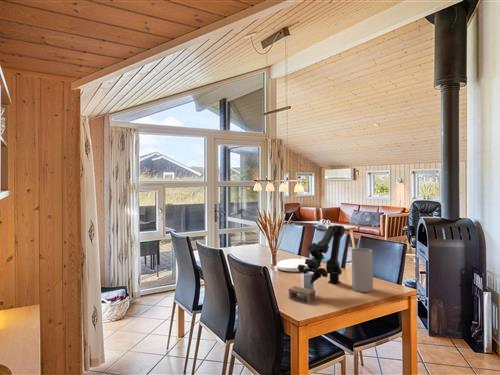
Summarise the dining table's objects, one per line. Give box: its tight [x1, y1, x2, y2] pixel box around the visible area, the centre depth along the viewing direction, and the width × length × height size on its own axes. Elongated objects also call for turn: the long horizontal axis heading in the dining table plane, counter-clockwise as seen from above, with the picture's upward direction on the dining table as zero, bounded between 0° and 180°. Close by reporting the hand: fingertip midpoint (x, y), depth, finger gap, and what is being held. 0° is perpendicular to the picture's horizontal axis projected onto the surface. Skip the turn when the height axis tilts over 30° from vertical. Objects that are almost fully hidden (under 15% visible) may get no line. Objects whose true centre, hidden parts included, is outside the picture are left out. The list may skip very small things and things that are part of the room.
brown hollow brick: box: [288, 285, 317, 304], centre depth 198 cm, size 7×14×6 cm, turn 49°
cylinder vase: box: [350, 247, 374, 293], centre depth 213 cm, size 12×12×25 cm
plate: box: [276, 258, 309, 273], centre depth 270 cm, size 28×6×27 cm
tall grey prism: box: [297, 272, 315, 300], centre depth 201 cm, size 11×6×13 cm, turn 139°
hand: (307, 282), depth 203 cm, fingers closed on tall grey prism, 4 cm apart
